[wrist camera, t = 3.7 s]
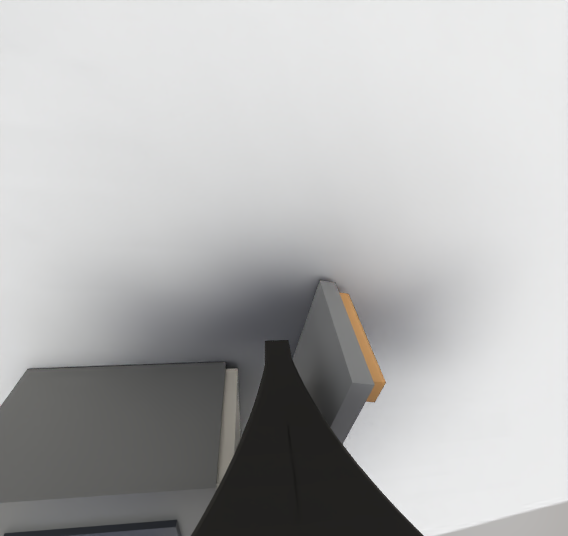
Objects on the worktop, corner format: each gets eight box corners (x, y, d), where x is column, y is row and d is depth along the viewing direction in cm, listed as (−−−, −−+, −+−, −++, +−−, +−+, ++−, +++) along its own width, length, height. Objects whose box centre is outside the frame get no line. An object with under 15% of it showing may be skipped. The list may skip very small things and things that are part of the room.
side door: (266, 489, 20) (270, 596, 16) (245, 488, 19) (244, 597, 15) (348, 284, 13) (392, 386, 9) (317, 279, 12) (348, 382, 8)
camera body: (243, 495, 20) (241, 625, 16) (96, 506, 20) (47, 646, 15) (237, 361, 14) (231, 504, 10) (27, 369, 14) (-88, 528, 9)
